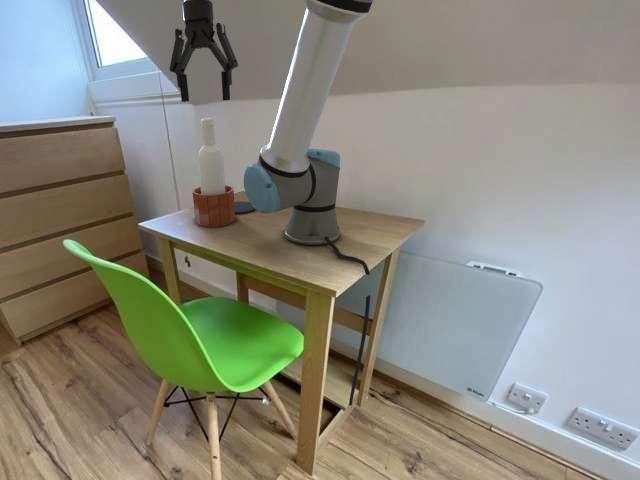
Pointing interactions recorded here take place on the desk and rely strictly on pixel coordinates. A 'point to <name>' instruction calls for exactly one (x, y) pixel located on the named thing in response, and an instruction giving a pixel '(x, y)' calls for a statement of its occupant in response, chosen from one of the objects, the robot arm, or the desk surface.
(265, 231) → the desk surface
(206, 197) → the reddish brown pot
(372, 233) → the desk surface
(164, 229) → the desk surface
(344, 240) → the desk surface
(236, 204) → the coaster
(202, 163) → the bottle
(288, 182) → the robot arm
